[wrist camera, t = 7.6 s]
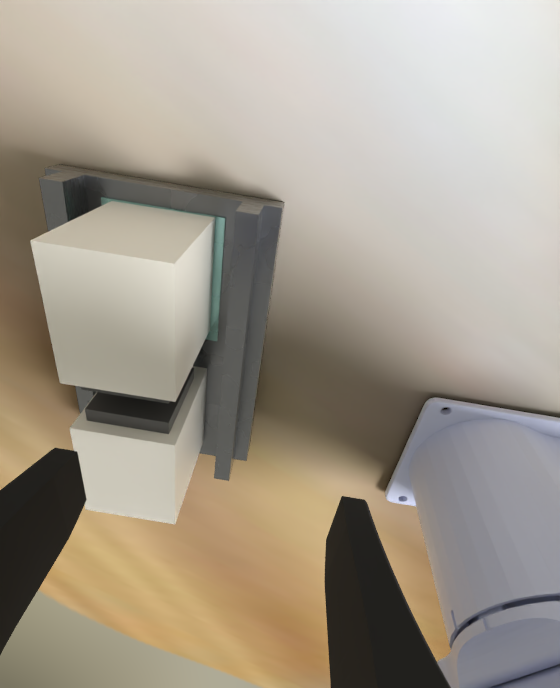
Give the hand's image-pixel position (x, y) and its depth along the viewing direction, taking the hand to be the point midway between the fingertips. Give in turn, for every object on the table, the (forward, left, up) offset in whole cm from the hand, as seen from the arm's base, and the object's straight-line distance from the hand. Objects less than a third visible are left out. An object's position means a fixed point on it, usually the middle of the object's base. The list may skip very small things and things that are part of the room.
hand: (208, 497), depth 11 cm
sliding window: (+4, +1, -9) cm, 10 cm away
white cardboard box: (+4, -3, -8) cm, 10 cm away
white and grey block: (+4, +4, -8) cm, 10 cm away
